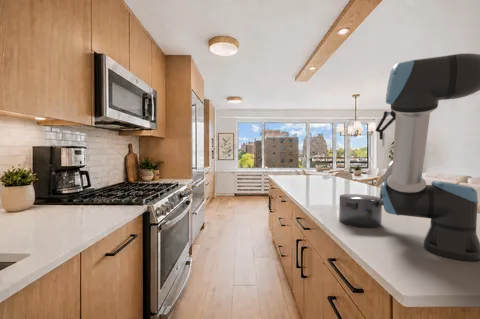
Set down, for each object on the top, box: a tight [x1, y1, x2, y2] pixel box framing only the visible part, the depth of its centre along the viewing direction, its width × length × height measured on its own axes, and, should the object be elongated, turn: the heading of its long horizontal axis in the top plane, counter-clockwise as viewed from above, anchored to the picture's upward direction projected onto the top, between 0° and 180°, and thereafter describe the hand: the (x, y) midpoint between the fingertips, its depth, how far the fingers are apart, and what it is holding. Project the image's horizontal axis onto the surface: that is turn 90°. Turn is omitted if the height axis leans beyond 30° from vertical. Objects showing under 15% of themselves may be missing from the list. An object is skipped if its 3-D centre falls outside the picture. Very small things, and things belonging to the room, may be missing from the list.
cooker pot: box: [338, 193, 384, 229], centre depth 116 cm, size 24×20×12 cm
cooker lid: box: [379, 159, 393, 200], centre depth 106 cm, size 19×19×4 cm
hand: (399, 146), depth 114 cm, fingers open, 13 cm apart
